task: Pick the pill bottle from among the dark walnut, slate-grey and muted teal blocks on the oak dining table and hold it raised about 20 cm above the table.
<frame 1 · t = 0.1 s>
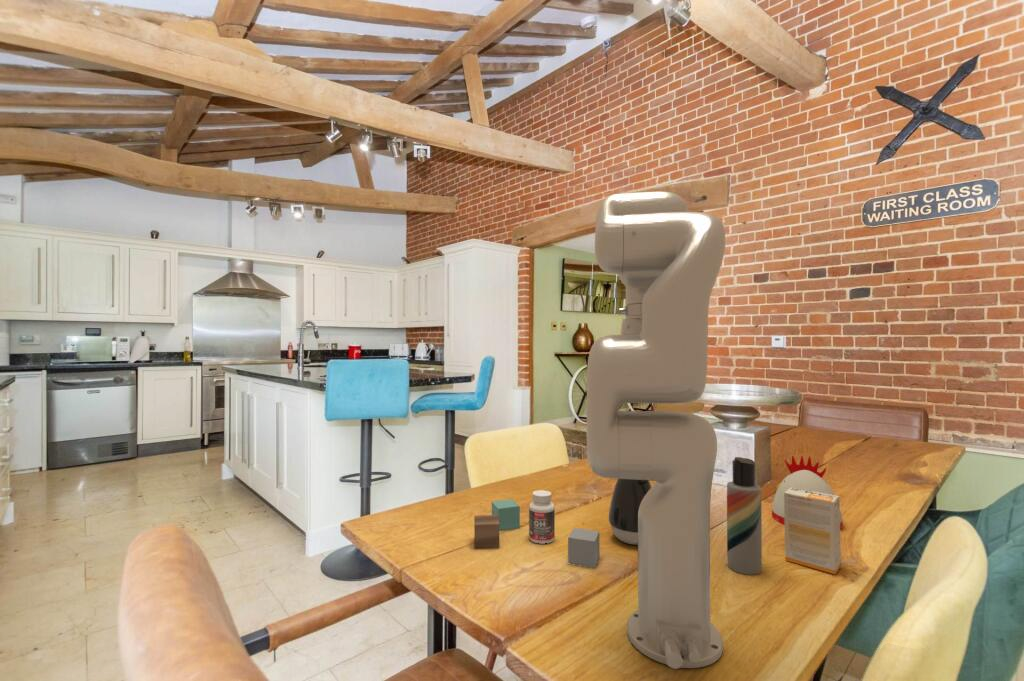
hand: (642, 386, 110), 31 cm above the table, fingers open, 9 cm apart
supplement box: (812, 564, 88), on the table
pump dispenser: (633, 540, 99), on the table
kitchen timer: (806, 521, 109), on the table
lotion bottle: (744, 568, 87), on the table
pill bottle: (541, 540, 99), on the table
teal block: (505, 525, 107), on the table
slate-grey block: (584, 560, 90), on the table
walnut block: (486, 543, 97), on the table
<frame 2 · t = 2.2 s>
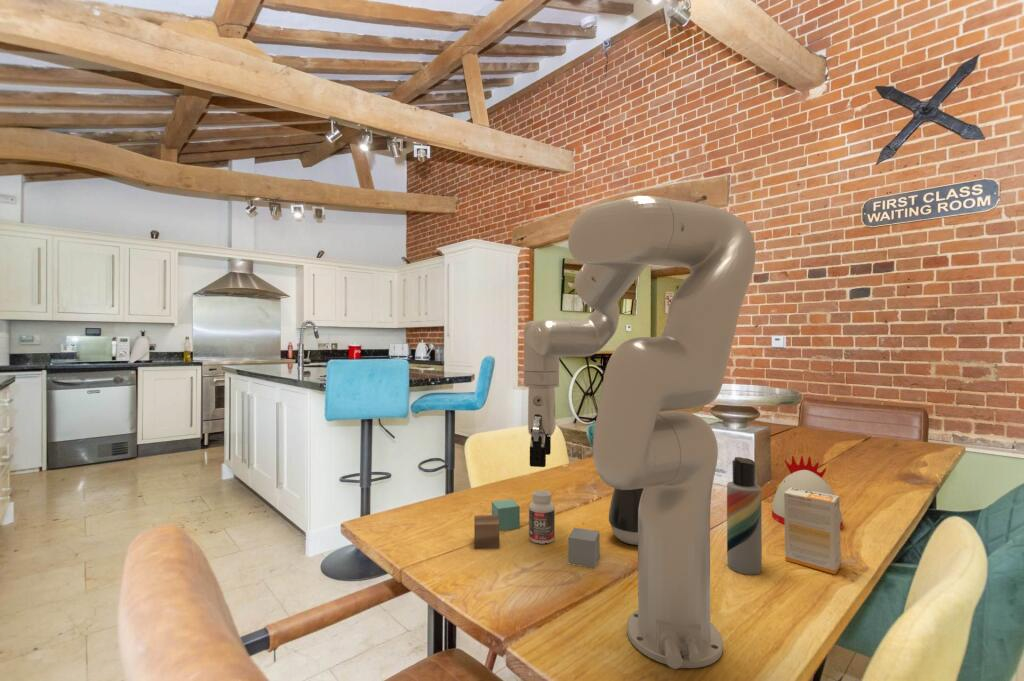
hand: (540, 460, 100), 17 cm above the table, fingers open, 9 cm apart
nothing on the table moved.
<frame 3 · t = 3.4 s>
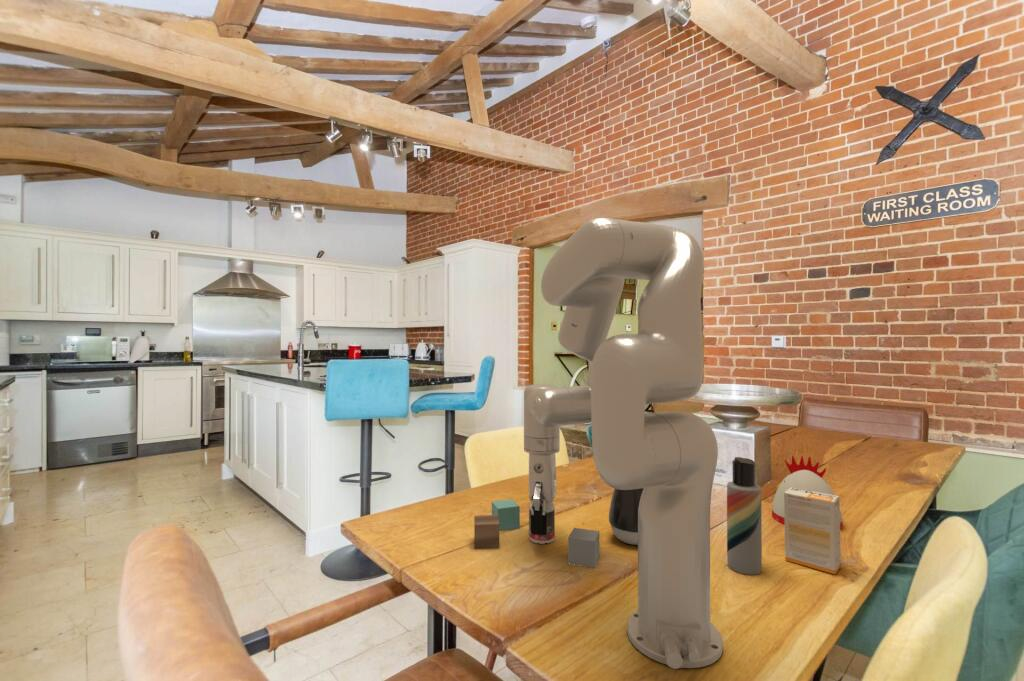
hand: (541, 524, 100), 3 cm above the table, fingers open, 9 cm apart
nothing on the table moved.
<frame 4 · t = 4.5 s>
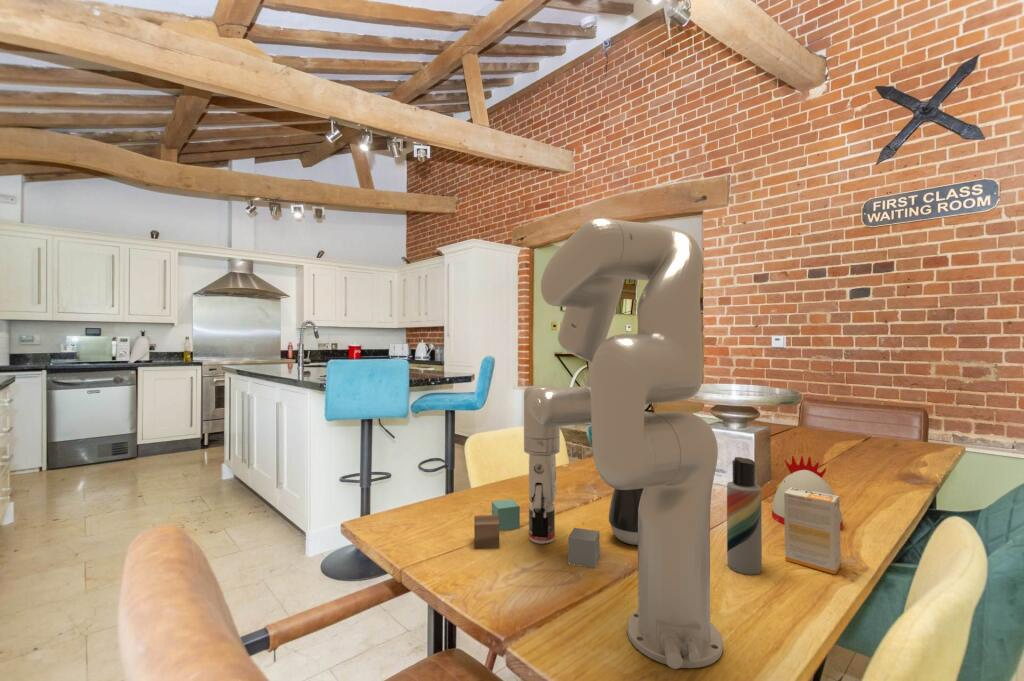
hand: (541, 529, 99), 2 cm above the table, fingers closed on pill bottle, 5 cm apart
pill bottle: (541, 540, 99), on the table, touching gripper
everything else where it was.
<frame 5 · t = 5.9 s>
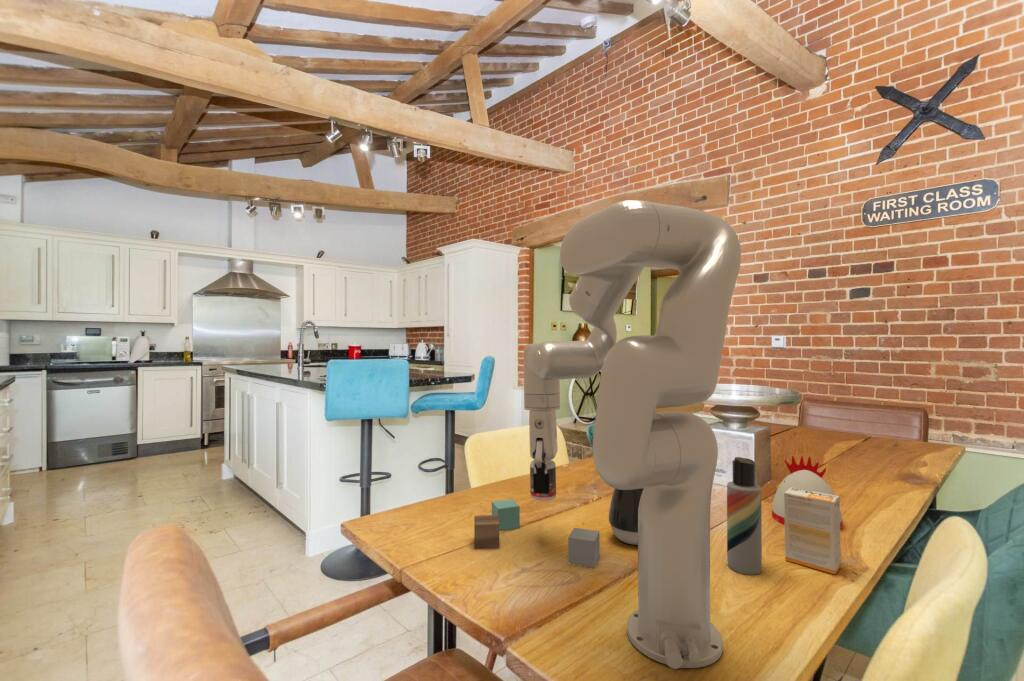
hand: (543, 487, 99), 11 cm above the table, fingers closed on pill bottle, 5 cm apart
pill bottle: (543, 498, 99), point 9 cm above the table, touching gripper
everything else where it was.
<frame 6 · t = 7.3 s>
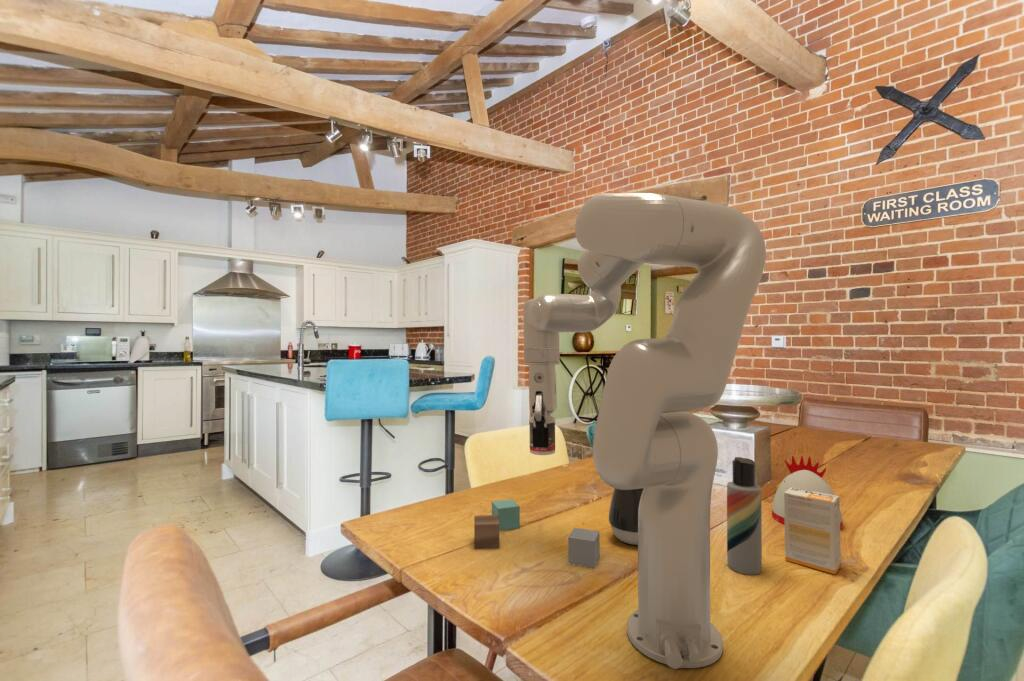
hand: (542, 443, 99), 20 cm above the table, fingers closed on pill bottle, 5 cm apart
pill bottle: (542, 453, 99), point 18 cm above the table, touching gripper
everything else where it was.
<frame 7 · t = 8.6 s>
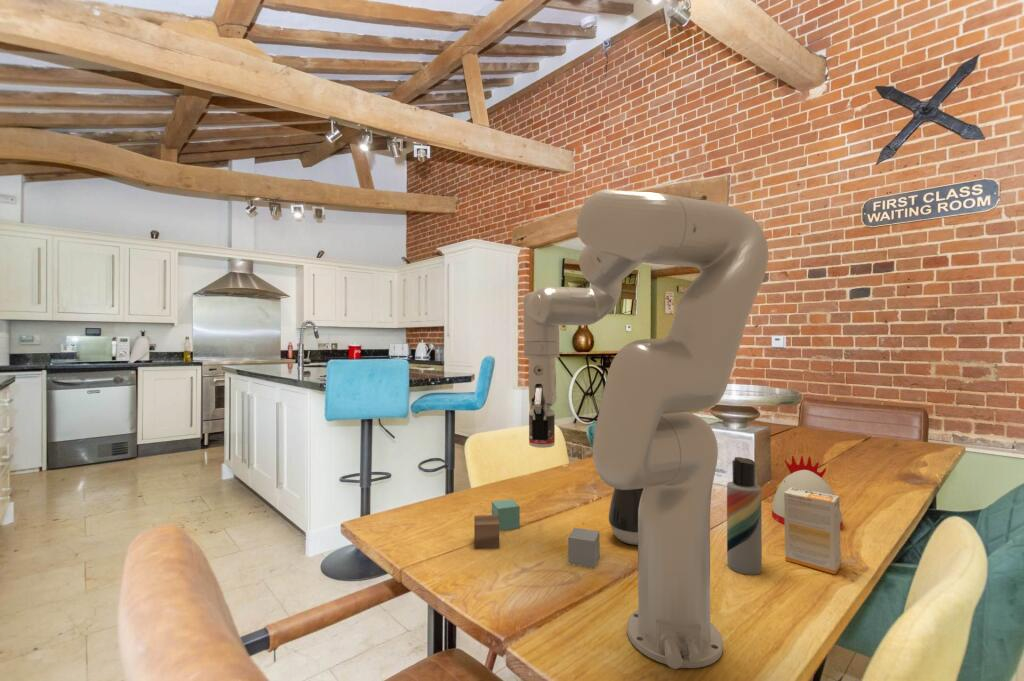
hand: (542, 435, 99), 22 cm above the table, fingers closed on pill bottle, 5 cm apart
pill bottle: (542, 446, 99), point 20 cm above the table, touching gripper
everything else where it was.
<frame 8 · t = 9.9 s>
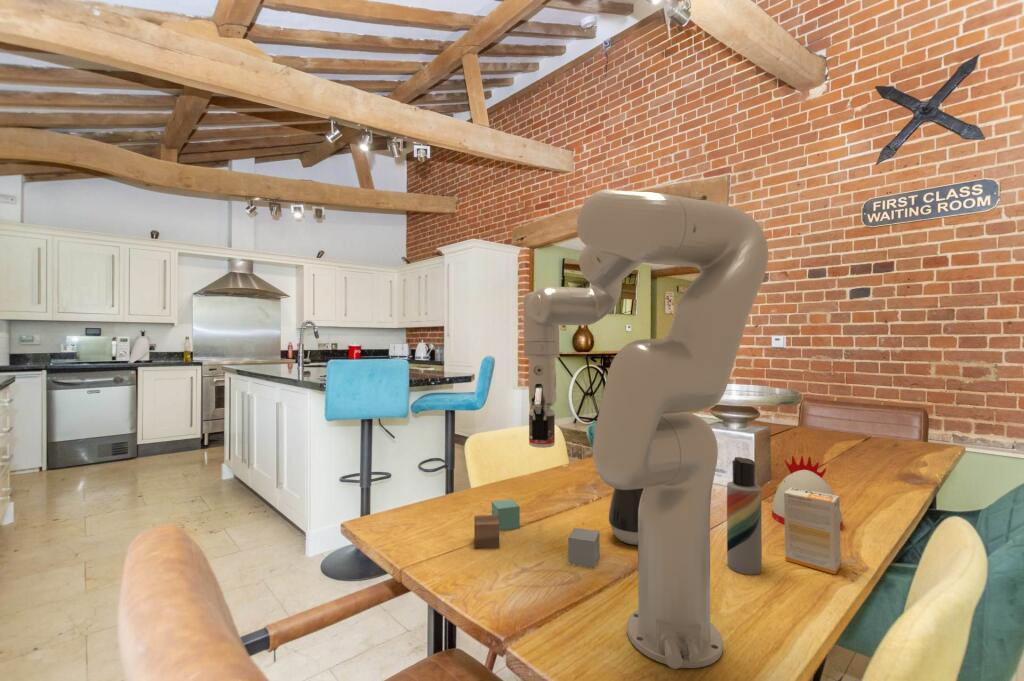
hand: (542, 435, 99), 22 cm above the table, fingers closed on pill bottle, 5 cm apart
pill bottle: (542, 446, 99), point 20 cm above the table, touching gripper
everything else where it was.
at the end: the gripper is holding pill bottle; pill bottle point 19.5 cm above the table; teal block moved 0.1 cm from its start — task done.
